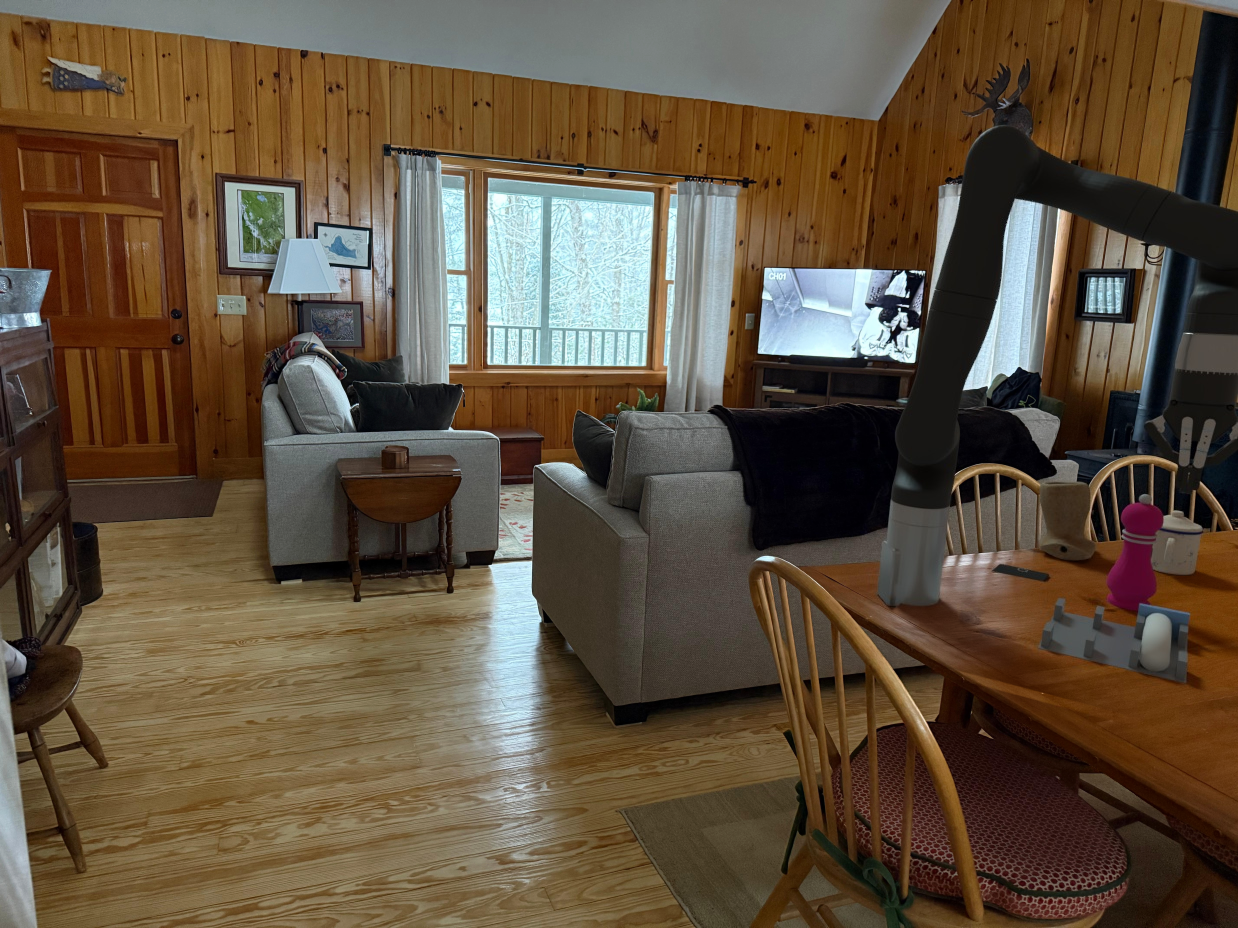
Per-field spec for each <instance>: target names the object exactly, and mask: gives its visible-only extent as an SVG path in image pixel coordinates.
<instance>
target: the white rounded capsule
mask: <svg viewBox="0 0 1238 928" xmlns="http://www.w3.org/2000/svg"><path fill="white" fill-rule="evenodd" d="M1171 633H1172V623H1171V620H1170V619H1169V618H1168V617H1167V616H1166V615H1164V614H1160V613H1153V614H1150V615H1149V616H1148V617H1147V618H1146V619H1145V624H1144V630H1143V636H1142V642H1141V649H1140V655H1139V660H1140V663H1141V664H1142V665H1143V667H1145V668H1146V669H1148V670H1150V671H1154V672H1159V671H1163V670H1165V669H1166V668H1167V667H1168V665H1169V662H1170V648H1171Z"/></svg>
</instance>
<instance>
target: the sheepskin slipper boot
mask: <svg viewBox="0 0 1238 928" xmlns="http://www.w3.org/2000/svg"><path fill="white" fill-rule="evenodd" d="M1039 503H1040V508H1041V512H1042V515H1043V519H1044V523H1045V528H1046V535H1044V537H1043V538H1042V540H1041V542H1040V545H1039V548H1040V550H1042V551H1043V552H1045V553H1047V554H1048V555H1050V556H1053V557H1055V558H1057V559H1061V560H1065V561H1080V560H1081V561H1083V560H1087V559H1090V558H1091V557H1092V556H1094V553H1095V551H1096V548H1097V543H1096V542H1095V541H1094V540H1092V539H1088V538H1085V536H1084V533H1085V527H1086V523H1087V519H1088V516H1089V512H1090V510H1091V489H1090V485H1089V484H1087V483H1086V482H1083V481H1058V480H1057V481H1044V482H1042V483H1041V484H1040V485H1039Z"/></svg>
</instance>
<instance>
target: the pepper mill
mask: <svg viewBox="0 0 1238 928" xmlns="http://www.w3.org/2000/svg"><path fill="white" fill-rule="evenodd" d="M1138 501H1139V502H1134V503H1130V504H1128V505H1127V506H1125V508H1124V509H1123V511H1122V512H1121V515H1120V521H1121V523H1122V524H1123V527H1124V528H1123V529H1122V535H1121V538H1122V539H1123V547H1122V550H1121V554H1120V556H1119V557H1118V559H1117V560H1116V562H1115V563H1114V565H1113V566H1112V567H1111V569H1110V571H1109V573H1108V574H1107V577H1106V586H1107V588H1108V589H1109V591H1110V593H1108V594H1107V598H1106V602H1107V603H1109V604H1110V605H1112V606H1115V607H1118V608H1121V609H1125V610H1129V611H1138V610H1139V604H1140V603H1141V604H1147V605H1151V602H1150V601H1149V600H1148V599H1151V598H1152V597H1153V596H1154V595H1155V594H1156V593H1157V586H1158V583H1157V578H1156V575H1155V572H1154V571H1155V570H1153V568H1152V564H1151V550H1152V547H1153V544H1155V543H1156V542H1157V541H1156V538H1157V537H1158V536H1157V534H1155V533H1156V532H1157V531H1158V530H1160V529H1161V527H1162V526H1163V523H1164V517H1163V516H1164V514H1163V512H1162V511H1161V509H1160V508H1159V507H1158V506H1155V505H1153V504H1151V503H1152V501H1153V499H1152V497H1151V495H1150V494H1146V493H1144V494H1141V495H1139V497H1138Z"/></svg>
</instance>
